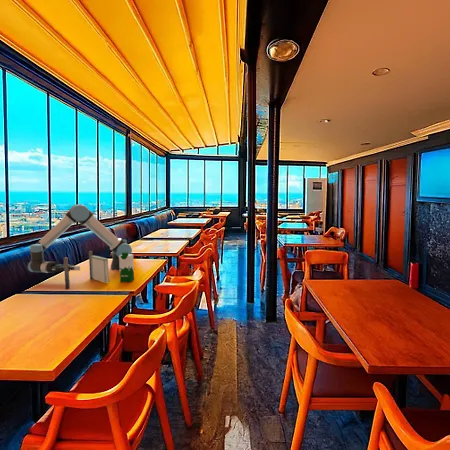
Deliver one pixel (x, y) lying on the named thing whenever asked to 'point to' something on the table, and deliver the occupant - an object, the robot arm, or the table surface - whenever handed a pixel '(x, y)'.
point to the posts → (68, 270)
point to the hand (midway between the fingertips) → (79, 268)
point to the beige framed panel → (99, 268)
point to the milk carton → (126, 267)
